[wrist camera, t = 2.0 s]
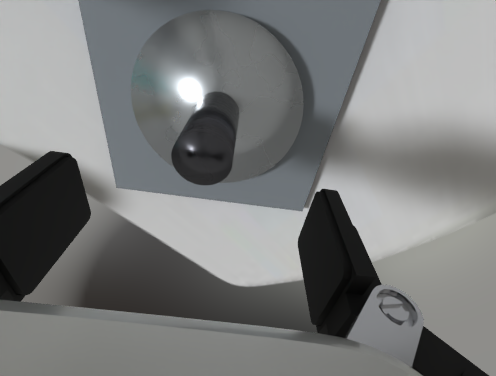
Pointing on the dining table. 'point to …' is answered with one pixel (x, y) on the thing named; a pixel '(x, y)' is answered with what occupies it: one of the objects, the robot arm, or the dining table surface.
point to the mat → (296, 44)
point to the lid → (217, 97)
